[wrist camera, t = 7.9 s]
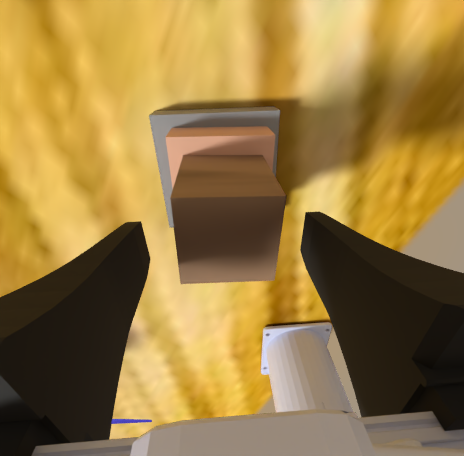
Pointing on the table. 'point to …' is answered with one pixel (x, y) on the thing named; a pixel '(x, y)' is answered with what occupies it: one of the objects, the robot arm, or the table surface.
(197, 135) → the terracotta cap
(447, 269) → the robot arm
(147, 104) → the table surface
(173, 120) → the gray slab
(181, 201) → the walnut block
